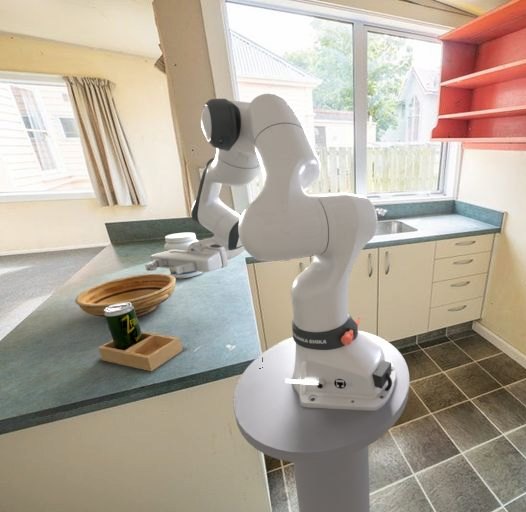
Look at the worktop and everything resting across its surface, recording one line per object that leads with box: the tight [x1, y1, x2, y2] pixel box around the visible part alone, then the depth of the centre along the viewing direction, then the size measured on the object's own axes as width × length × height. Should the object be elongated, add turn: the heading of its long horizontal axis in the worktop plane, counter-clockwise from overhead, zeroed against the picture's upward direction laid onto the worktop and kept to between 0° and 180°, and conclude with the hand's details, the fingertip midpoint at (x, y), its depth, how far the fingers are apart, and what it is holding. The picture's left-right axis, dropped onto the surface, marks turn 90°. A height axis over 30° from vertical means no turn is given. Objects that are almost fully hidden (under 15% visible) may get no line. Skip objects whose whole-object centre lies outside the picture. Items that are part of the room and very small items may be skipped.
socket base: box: [97, 330, 183, 372], centre depth 73 cm, size 15×8×4 cm, turn 75°
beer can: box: [104, 302, 143, 350], centre depth 72 cm, size 5×5×12 cm
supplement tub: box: [163, 232, 204, 279], centre depth 123 cm, size 12×12×17 cm
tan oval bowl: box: [74, 273, 177, 318], centre depth 94 cm, size 30×24×8 cm
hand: (161, 269), depth 79 cm, fingers open, 8 cm apart
